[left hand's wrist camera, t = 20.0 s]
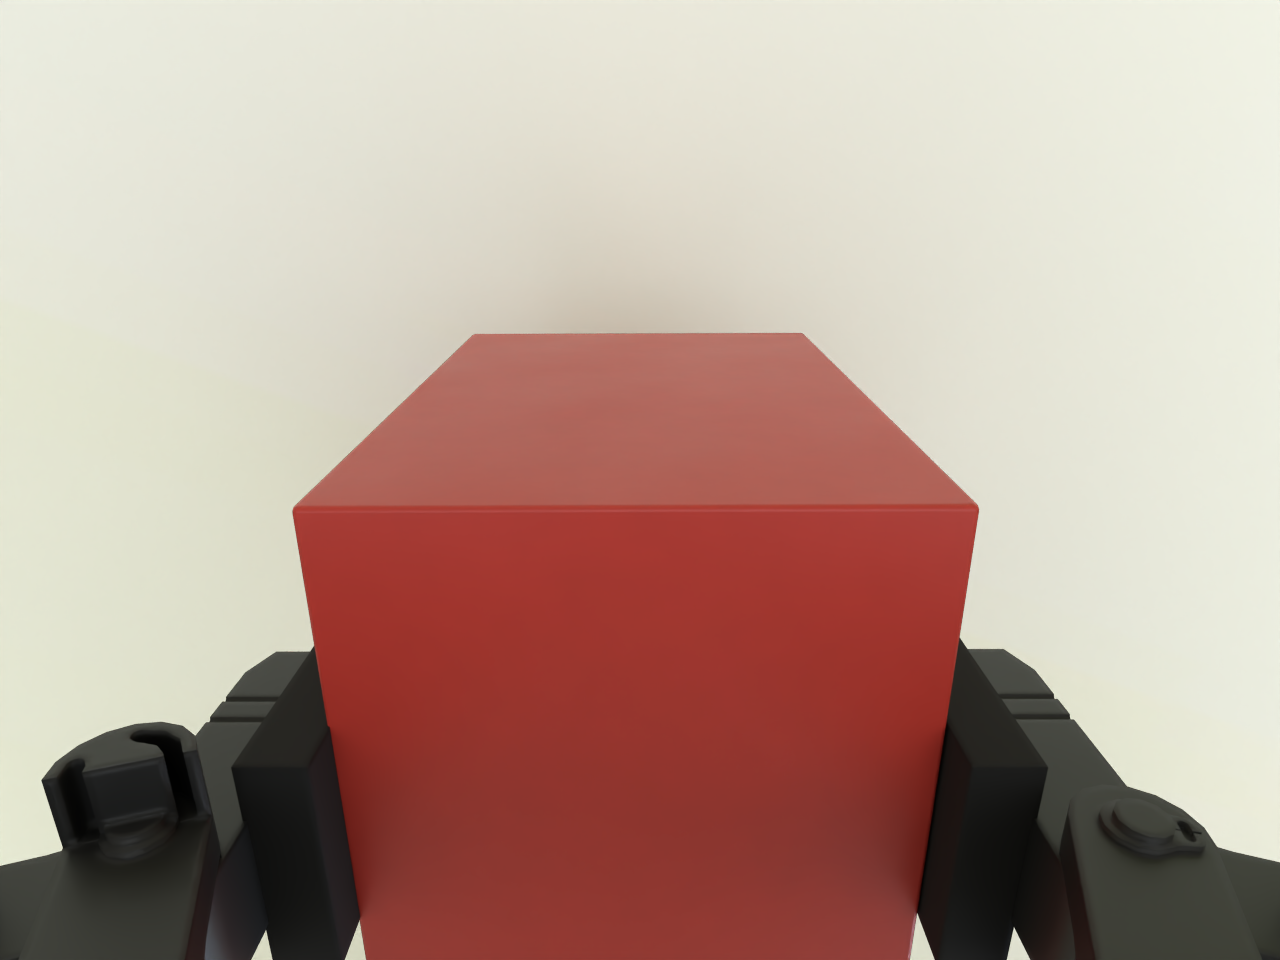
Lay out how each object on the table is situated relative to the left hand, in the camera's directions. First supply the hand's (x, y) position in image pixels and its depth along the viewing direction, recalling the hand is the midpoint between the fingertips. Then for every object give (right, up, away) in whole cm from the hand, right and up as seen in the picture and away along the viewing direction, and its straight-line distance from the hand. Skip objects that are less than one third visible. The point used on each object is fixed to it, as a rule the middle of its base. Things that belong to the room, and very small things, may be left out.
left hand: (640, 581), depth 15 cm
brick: (0, +1, +3) cm, 3 cm away
